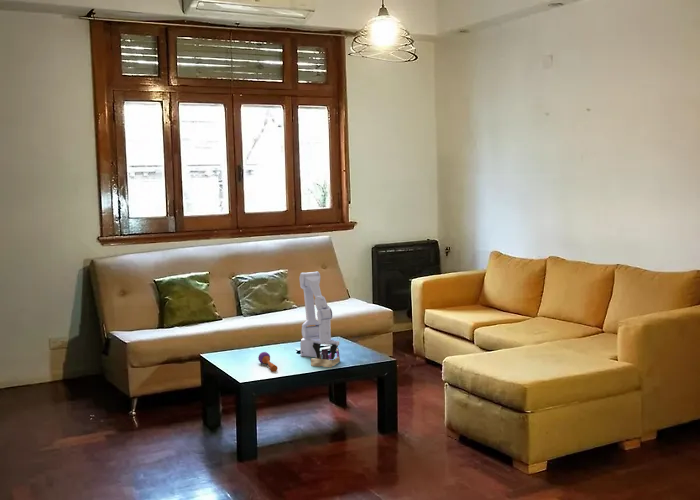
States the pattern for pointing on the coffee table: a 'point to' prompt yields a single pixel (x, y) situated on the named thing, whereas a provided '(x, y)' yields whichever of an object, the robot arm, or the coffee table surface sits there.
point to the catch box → (324, 362)
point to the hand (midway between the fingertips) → (325, 358)
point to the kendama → (267, 361)
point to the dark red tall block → (326, 356)
